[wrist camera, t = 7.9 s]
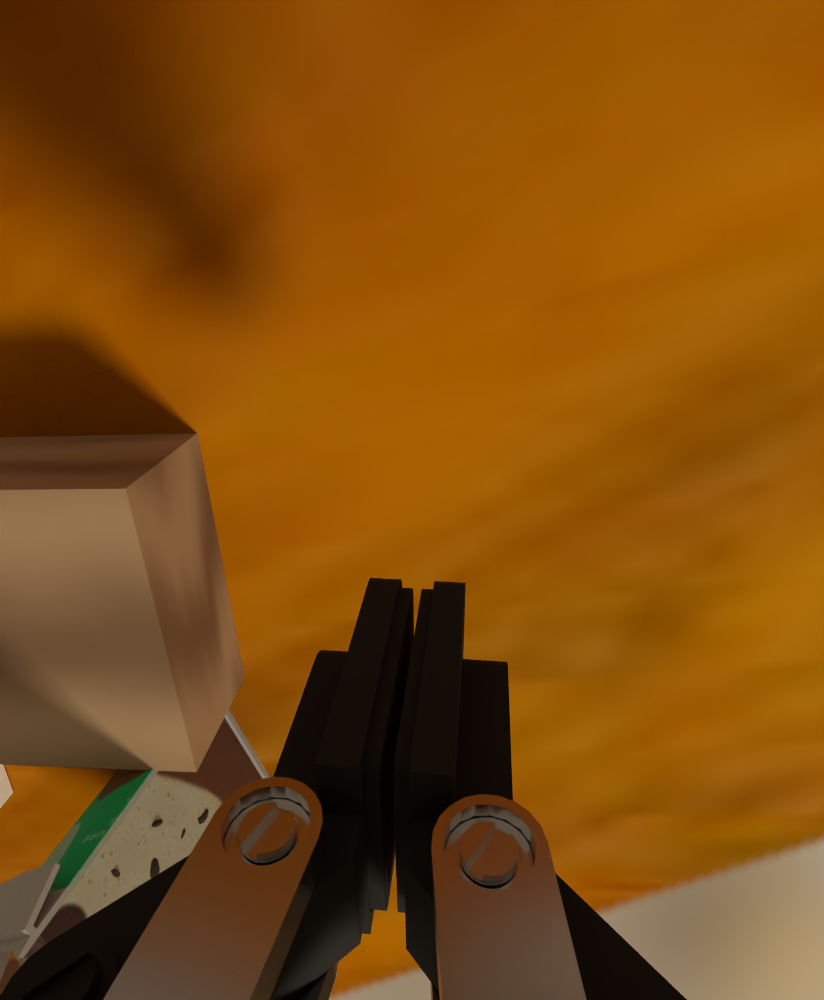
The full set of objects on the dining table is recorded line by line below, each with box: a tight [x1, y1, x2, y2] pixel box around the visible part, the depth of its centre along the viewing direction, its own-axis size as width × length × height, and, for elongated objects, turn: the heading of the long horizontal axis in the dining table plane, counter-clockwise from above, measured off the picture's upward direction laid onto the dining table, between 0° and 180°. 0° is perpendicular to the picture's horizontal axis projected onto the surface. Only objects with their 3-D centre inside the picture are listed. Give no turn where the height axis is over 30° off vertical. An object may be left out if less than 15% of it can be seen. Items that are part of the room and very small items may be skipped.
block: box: [0, 433, 244, 772], centre depth 20 cm, size 9×10×4 cm
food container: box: [0, 709, 270, 959], centre depth 21 cm, size 12×6×10 cm, turn 21°
